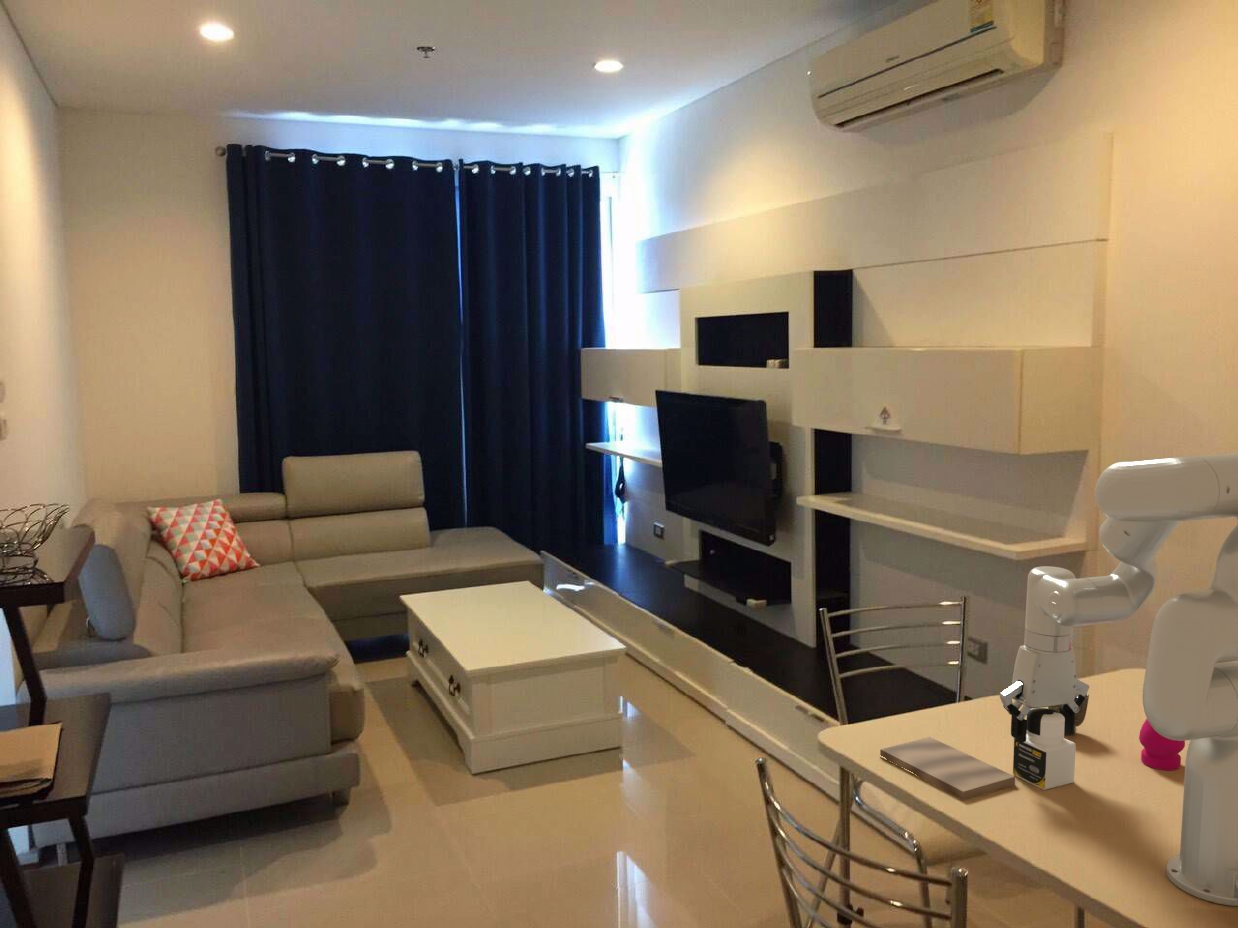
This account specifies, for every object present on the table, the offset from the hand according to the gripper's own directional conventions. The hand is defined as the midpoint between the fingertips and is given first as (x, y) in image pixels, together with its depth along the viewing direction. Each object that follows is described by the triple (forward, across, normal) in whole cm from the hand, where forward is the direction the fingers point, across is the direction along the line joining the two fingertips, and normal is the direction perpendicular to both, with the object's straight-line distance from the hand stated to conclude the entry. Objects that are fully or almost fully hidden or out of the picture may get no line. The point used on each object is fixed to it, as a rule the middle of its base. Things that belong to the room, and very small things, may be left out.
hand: (1042, 735), depth 178 cm
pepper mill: (+8, -24, +2) cm, 25 cm away
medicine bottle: (+8, 0, +1) cm, 8 cm away
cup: (+8, -18, -15) cm, 25 cm away
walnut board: (+8, +14, -7) cm, 18 cm away
